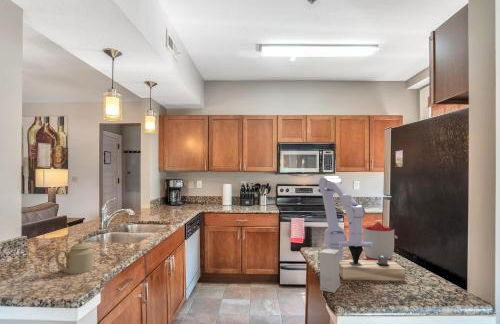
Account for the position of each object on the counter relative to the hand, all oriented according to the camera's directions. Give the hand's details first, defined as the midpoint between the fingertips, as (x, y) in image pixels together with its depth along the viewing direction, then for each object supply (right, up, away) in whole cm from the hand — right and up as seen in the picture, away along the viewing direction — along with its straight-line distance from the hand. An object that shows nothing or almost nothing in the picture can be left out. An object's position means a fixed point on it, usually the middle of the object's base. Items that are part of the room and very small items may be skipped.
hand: (355, 263), depth 141 cm
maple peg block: (+6, -5, 0) cm, 8 cm away
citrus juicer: (+21, -6, +23) cm, 32 cm away
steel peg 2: (+12, -2, 0) cm, 12 cm away
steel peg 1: (0, -5, 0) cm, 5 cm away
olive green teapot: (-126, -5, +3) cm, 126 cm away
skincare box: (-15, -5, -16) cm, 23 cm away
